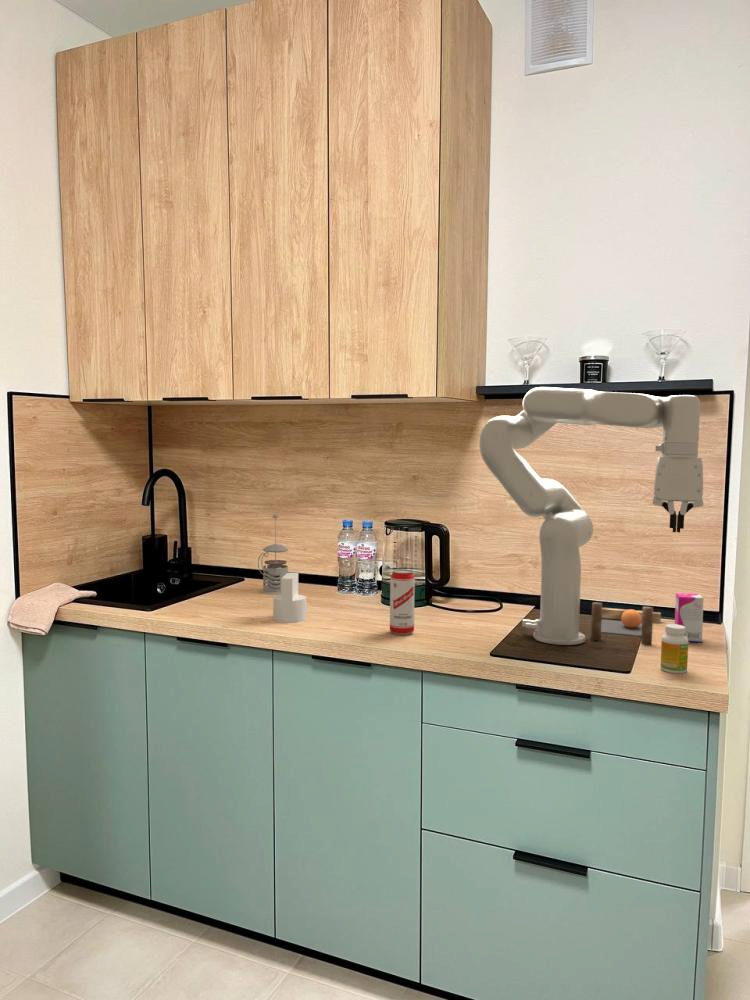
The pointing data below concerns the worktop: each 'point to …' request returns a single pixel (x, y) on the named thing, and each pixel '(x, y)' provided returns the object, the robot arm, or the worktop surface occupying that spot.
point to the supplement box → (690, 615)
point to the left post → (596, 621)
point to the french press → (273, 568)
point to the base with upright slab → (289, 601)
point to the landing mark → (619, 628)
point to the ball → (631, 618)
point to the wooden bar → (618, 613)
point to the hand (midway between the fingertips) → (676, 531)
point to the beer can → (402, 602)
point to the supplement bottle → (674, 649)
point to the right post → (647, 626)
